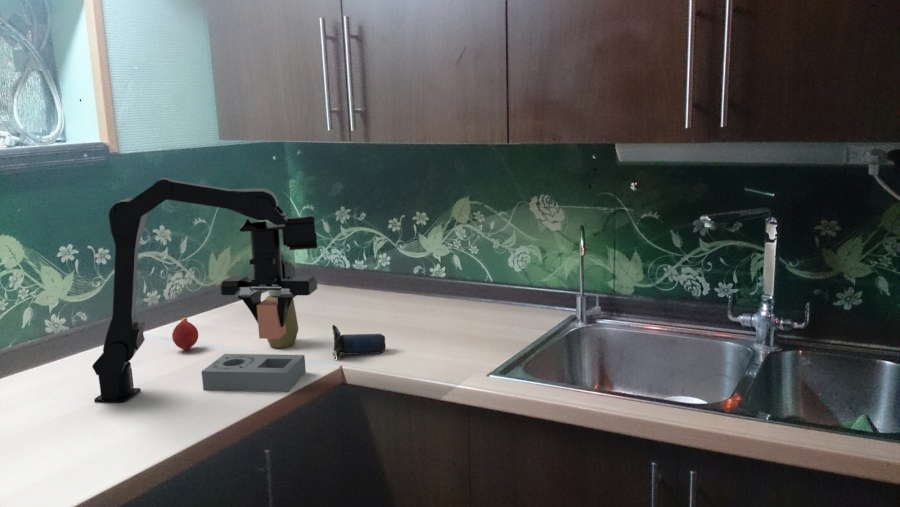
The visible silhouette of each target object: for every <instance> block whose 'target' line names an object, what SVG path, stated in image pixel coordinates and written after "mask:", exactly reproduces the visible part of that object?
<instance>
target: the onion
mask: <svg viewBox="0 0 900 507" xmlns="http://www.w3.org/2000/svg"><path fill="white" fill-rule="evenodd" d="M171 338H172V342H174V343H173V344H174V345H175V346H176V347H178V348H179V349H180V350H183V351H190V349H191V348H192V347H193V346H194V345H195V344H196V343H197V341H198V340H199V331H198V328H197V327H196V326H195V325H194V324H193V323H191V322H189V321H188V318H187V317H183V318H182V319H181V321H180V322H179V323H177V325H176V326H175V327H174V328H173V331H172V337H171Z"/></svg>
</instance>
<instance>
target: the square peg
mask: <svg viewBox="0 0 900 507" xmlns="http://www.w3.org/2000/svg"><path fill="white" fill-rule="evenodd" d="M257 316H258V323H257V326H258V336H259V339H261V340H262V339H266V340H267V339H279V338H281V337H282V336H283V335H284V334H285V333H286V322H285V325H284V326H283V327H281V325H280V321H279V309H278V300H265V299H264V300H261V303H259V304H258V305H257Z"/></svg>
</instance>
